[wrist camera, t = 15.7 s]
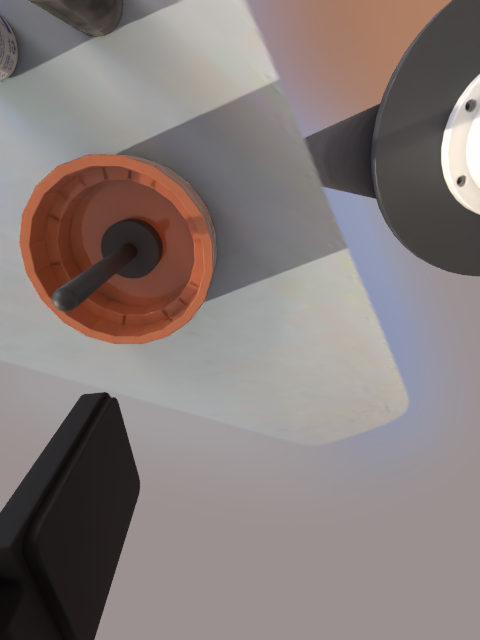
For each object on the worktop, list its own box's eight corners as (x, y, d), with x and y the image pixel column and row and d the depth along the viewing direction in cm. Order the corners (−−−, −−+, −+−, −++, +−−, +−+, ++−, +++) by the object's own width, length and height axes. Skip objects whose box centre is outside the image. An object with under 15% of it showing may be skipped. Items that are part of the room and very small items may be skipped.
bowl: (143, 117, 31) (122, 106, 26) (248, 262, 36) (250, 279, 31) (20, 226, 35) (-22, 237, 29) (131, 345, 40) (114, 374, 34)
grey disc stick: (137, 206, 34) (58, 236, 19) (174, 252, 35) (127, 313, 20) (96, 240, 35) (-9, 293, 20) (133, 283, 36) (62, 361, 22)
